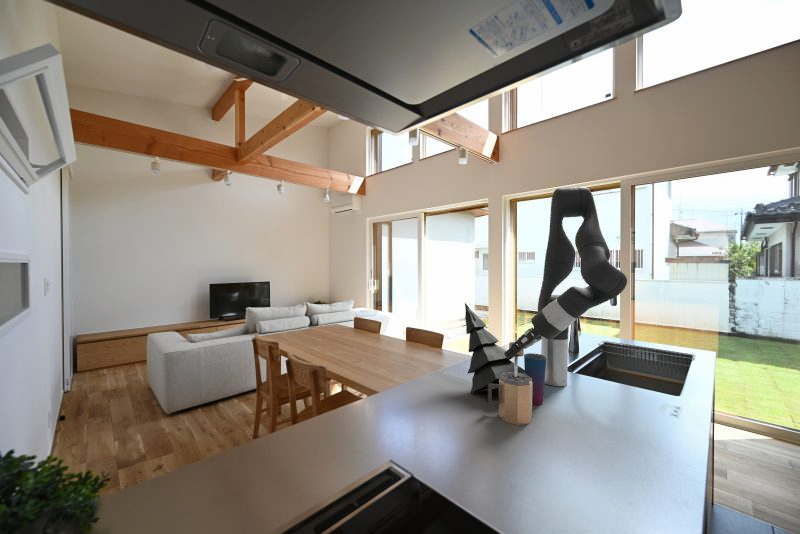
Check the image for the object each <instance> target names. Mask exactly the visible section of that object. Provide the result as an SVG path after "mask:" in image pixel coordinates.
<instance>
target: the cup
mask: <svg viewBox="0 0 800 534" xmlns="http://www.w3.org/2000/svg"><path fill="white" fill-rule="evenodd" d="M540 354H541V353H535V352H534V353H533V352H532V353H531V352H530V353H524V355H523V359H524V361H523V362H524V370H525V374H526V375H528V376H529V377H531V378H532V381H533V386H532V406H541V405H543V401H544V394H545V393H544V390H545V383H544V381H545V370H546V359H547V358H546V356H544V355H540Z"/></svg>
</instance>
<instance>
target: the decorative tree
mask: <svg viewBox="0 0 800 534" xmlns="http://www.w3.org/2000/svg"><path fill="white" fill-rule="evenodd" d="M464 307H465V308H464V309H465V317H464V319H465V326H466V328H465V329H466V331H465V332H466V335H468V334H469V341H468V353H472V355H471V359H470V363H469V364H470V365H469V368H468V371H467V375H468V374H473V376H472V379H471V380H472V381H471V389H470V394H475V393H481V392H483V391H486V390H487V391H488V383H492V384H499V379H500V375H501V374H502V373H503V372H514V362H513V361H512V359H514V358H515V356H513V357H512V358H510V359H507V357H506V356H505V355H504V353H505V352H506V351H507V350H505V349H504V348H502V347H501V346H499V345H497V343H498V342H499V340H498V338H497V337H496V336H494V334H492V333H491V332H490V331H489V330H487V329H486V326H487V324H485V322H484V321H483V320H482V319H481V318H480V317H479V316H478V315H477V314H476V313H475V312H474V311H472V309H471V308H470V307H469V306H468V304H467V302H465V303H464ZM518 373H522V374H525V368H522V367H521V366H519V365H518ZM494 389H495V392H496V394H497V396H498V398H499V389H498V388H494Z"/></svg>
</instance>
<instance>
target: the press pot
mask: <svg viewBox="0 0 800 534" xmlns="http://www.w3.org/2000/svg"><path fill="white" fill-rule="evenodd" d="M532 386H533V381H532V378H531V377H529V376H528V375H526V374H522V373H517V378H514V372H503V373H502V374H501V375H500V379H499V384H492V383H488V389H487V405H490V406H491V405H493V406H494V405H495V406H498V417H499V418H500V419H501V420H503V422H506V423H509V424H513V425H515V426H519V425H520V426H521V425H529V424H530V423H531V422H532V419H533V405H532ZM495 388H498V389H499V397H498V400H495V399H493V397H492V395H493V389H495Z"/></svg>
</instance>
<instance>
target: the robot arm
mask: <svg viewBox="0 0 800 534" xmlns="http://www.w3.org/2000/svg"><path fill="white" fill-rule="evenodd" d="M551 196H552V197H551V202H550V216H549V229H548V231H549V232H548V240H547V246H546V251H545V259H544V265H543V266H544V267H543V276H542V284H541V289H540V293H539V297H538V302H537V313H536V314H535V315H534V316H533V317H532V318H531V321H530V322H531V324H532V327H530V328H528V329H527V330H525V331H524V333H523V334H521V336H520V337H518V338H517V339H516V340H515V341H513V342H514V343H513V344H512V345H511V346H512V347H511V348H509V347H508V349H507V350H506V352H505V353H504V355H505V356H506V357H507V359H510V358H512V357H513V356H514V355H515V354H517V353H518V352H520V351H521V350H522V349H524V350H525V349H528V348H529V347H532V346H534V345H535V344H537V343H539V341H541V342H540V343H541V344H540V345H541V348H540V349H541V350H540V353H539V354H540V355H544V356H546V358H547V359H546V370H545V381H544V385H545V384H546V385H548V386H554V387H565V386H567V385H568V363H569V362H568V360H569V328H570V326H571V325H572V324H573V323H574V322H575V321H576V320H578V319H579V318H580V317H581V316H583V314H585V313H586V312H587V311H589V310H590V309H592V308H594V307H597V306H600V305H602V304H604V303H606V302H608V301H610V300H612V299H615V298H617V297H618V296H620V294H621V293H622V292H623V291H624V290H625V289H626V286H627V284H628V278H627V276H626V274H625V273H624V272H622V271H621V270H619V269H618V268H617V267H615V266H614V265H612V264H611V263H610V261H609V260H610V259H611V251H610V249H609V246H608V244H607V242H606V239H605V238H604V236H603V232H602V231H601V226H600V223H599V218H598V217H599V216H598V212H597V208H596V203H595V199H594V196H593V193H592V191H591V189H589V188H588V187H586V186H574V187H560V188H559V187H558V188H556V189H554V191H553V193H552V195H551ZM578 217H582V218H583V221H582V223H581V225H580V226H579V228H578V229H577V232H576V234H575V239H574V243H575V247H574V245H573V243H572V241H571V240H570V239H569V237H568V235H567V234H566V232H565V230H564V227H563V220H564V219H565V218H578ZM575 248H576V249H575ZM576 251H577V253H576ZM576 254H578V256H579V258H580V262H579V264H580V274H581V278H582V279H583V281H584V282H585V283H586V284H587V286H585V287H580V286H570V287H569V288H567V289H566V290H565V291H564V292H563V293H561V294H553V292H554V291H555V290H556V288H557V287H558V286H559V285H560V284H562V282H563V281H565V280H566V279H567V278H568V277H569V276H570V275H571V273H572V272H573V270H574V265H575V260H576ZM517 344H518V345H519V347H520V348H519V347H518V346H517ZM513 358H514V357H513ZM513 358H512V359H513ZM510 360H511V359H510Z"/></svg>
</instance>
